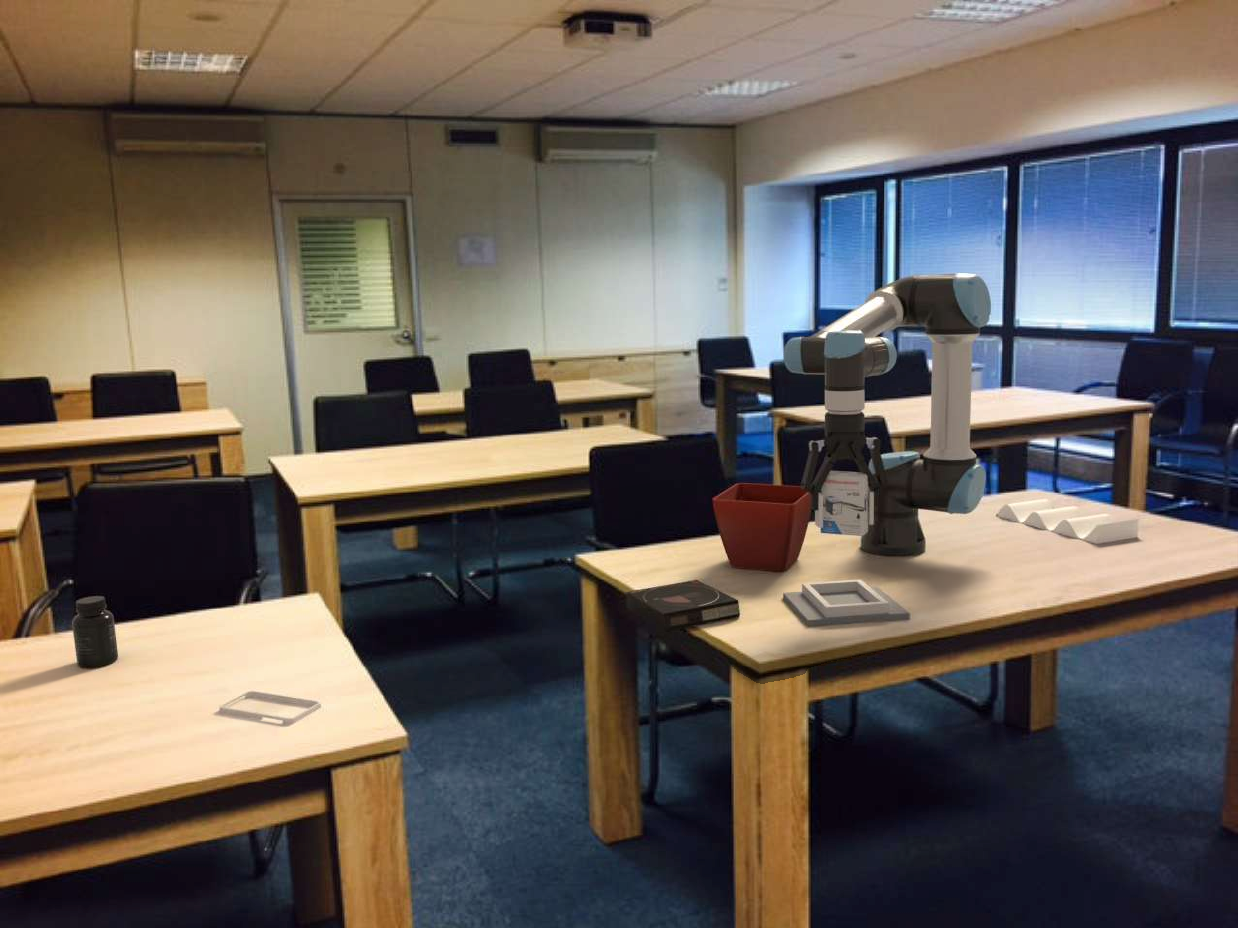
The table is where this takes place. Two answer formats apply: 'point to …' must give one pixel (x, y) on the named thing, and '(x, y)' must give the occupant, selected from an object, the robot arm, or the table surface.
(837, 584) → the square ring on plate
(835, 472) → the ink box
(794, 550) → the plant pot
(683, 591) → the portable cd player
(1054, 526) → the white wavy ridged block
